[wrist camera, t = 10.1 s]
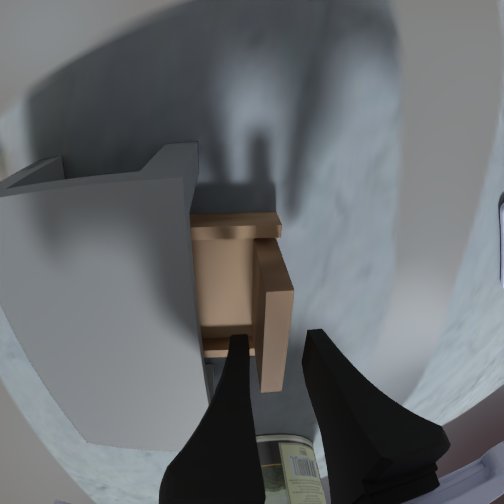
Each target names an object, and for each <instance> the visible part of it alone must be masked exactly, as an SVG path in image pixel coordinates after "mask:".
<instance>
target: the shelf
mask: <svg viewBox="0 0 504 504" xmlns="http://www.w3.org/2000/svg"><path fill="white" fill-rule="evenodd" d="M198 174H199V165H198V142H190V143H173V144H165V145H164V146H163V147H162V148H161V149H160V150H159V151H158V152H157V153H156V155H155V156H154V157H153V158H152V159H151V160H150V161H149V162H148V163H147V164H146V165H145V166H144V167H143V168H142V169H141V170H140V171H138V172H126V173H116V174H106V175H97V176H88V177H80V178H72V179H65V176H64V169H63V162H62V156H61V157H55V158H49V159H44V160H39V161H37V162H35V163H33V164H31V165H29V166H27V167H26V168H24V169H22V170H20V171H18V172H16V173H15V174H13V175H11V176H9V177H8V178H6V179H4V180H3V181H1V182H0V305H1V307H2V310H3V312H4V314H5V316H6V318H7V320H8V322H9V324H10V326H11V328H12V330H13V332H14V334H15V336H16V338H17V340H18V341H19V343H20V345H21V347H22V349H23V351H24V352H25V354H26V356H27V358H28V359H29V361H30V363H31V364H32V366H33V368H34V369H35V371H36V373H37V374H38V376H39V377H40V379H41V381H42V382H43V384H44V385H45V387H46V388H47V390H48V391H49V393H50V394H51V396H52V397H53V399H54V400H55V401H56V403H57V404H58V406H59V407H60V409H61V410H62V411H63V413H64V414H65V415H66V417H67V418H68V419H69V421H70V422H71V423H72V425H73V426H74V427H75V428H76V430H77V431H78V432H79V434H80V435H81V436H82V437H83V438H84V440H85V441H86V442H87V443H91V444H97V445H104V446H112V447H120V448H130V449H141V450H155V451H177V452H180V451H181V450H182V448H183V447H184V446H185V444H186V443H187V441H188V440H189V438H190V437H191V436H192V434H193V433H194V431H195V429H196V428H197V426H198V425H199V423H200V421H201V419H202V418H203V416H204V414H205V412H206V410H207V408H208V406H209V404H210V402H211V400H212V398H213V396H214V393H215V376H214V367H213V364H205V360H204V353H203V345H202V337H201V329H200V321H199V312H198V304H197V294H196V285H195V275H194V264H193V253H192V241H191V229H190V215H189V213H190V208H191V204H192V199H193V195H194V191H195V187H196V182H197V178H198Z"/></svg>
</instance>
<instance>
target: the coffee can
mask: <svg viewBox="0 0 504 504" xmlns="http://www.w3.org/2000/svg"><path fill="white" fill-rule="evenodd" d="M256 441H257V447H258V453H259V459H260V464H261V470H262V475H263V480H264V487H265V494H266V500H265V504H326V500H325V495H324V492H323V487H322V484H321V479H320V474H319V470H318V467H317V463H316V459H315V454H314V450H313V444H312V442H311V441H310V440H308V439H306V438H304V437H300V436H296V435H283V434H276V435H263V436H256Z"/></svg>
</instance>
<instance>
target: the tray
mask: <svg viewBox="0 0 504 504" xmlns="http://www.w3.org/2000/svg"><path fill="white" fill-rule="evenodd" d="M190 229H191V241H192V253H193V264H194V275H195V285H196V294H197V304H198V312H199V321H200V329H201V337H202V345H203V353H204V358H214V357H227V354H228V349H229V337H230V336H231V335H238V334H247V335H248V340H249V347H250V356H256V363H257V370H258V377H259V384H260V391H261V393H265V392H277V391H282V385H283V378H284V371H285V363H286V356H287V348H288V340H289V332H290V324H291V315H292V307H293V298H294V288H293V285H292V282H291V280H290V277H289V274H288V271H287V268H286V265H285V263H284V260H283V257H282V254H281V251H280V249H279V246H278V243H277V238H278V237H281V231H282V224H281V222H280V220H279V217H278V215H277V213H276V212H253V213H217V214H190Z"/></svg>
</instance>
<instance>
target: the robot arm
mask: <svg viewBox="0 0 504 504" xmlns="http://www.w3.org/2000/svg"><path fill="white" fill-rule="evenodd" d="M500 222H501V286H502V287H503V288H504V203H503V204H502V205H501V207H500ZM302 367H303V373H304V378H305V383H306V387H307V390H308V393H309V396H310V400H311V403H312V406H313V409H314V412H315V415H316V418H317V421H318V425H319V428H320V432H321V436H322V442H323V447H324V452H325V458H326V465H327V471H328V479H329V486H330V494H331V495H330V496H331V504H489V503H491V502H492V501H494V500H495V499H497V498H498V497H500V496H501V495H502V494H504V441H503V442H501V443H499V444H498V445H496V446H495V447H493V448H491V449H490V450H489V451H487V452H486V453H485V454H484V455H483V456H482V457H481V458H480V459H478V460H476V461H474V462H472V463H470V464H468V465H466V466H464V467H463V468H460V469H458V470H456V471H454V472H452V473H450V474H448V475H446V476H444V477H442V478H439V479H438V478H437V475H436V473H435V471H436V470H437V469H438V468H437V465H436V463H435V462H436V461H437V460H438V459H439V458H441V457H442V456H443V455H444V454H445V453H446V451H448V449H449V447H450V445H451V444H450V442H449V440H448V438H447V435H446V433H445V431H444V430H443V428H442V426H440V425H437V424H435V423H433V422H431V421H428V420H426V419H424V418H422V417H420V416H418V415H416V414H414V413H413V412H411V411H409V410H407V409H406V408H404V407H403V406H401V405H399V404H398V403H397V402H395V401H393V400H392V399H390V398H389V397H388V396H387V395H385V394H384V393H383V392H381V391H380V390H379V389H378V388H376V387H375V386H374V385H373V384H372V383H371V382H370V381H368V380H367V379H366V378H365V377H364V376H363V375H362V374H361V373H360V372H359V371H358V370H357V369H356V368H355V367H354V366H353V365H352V364H351V362H350V361H349V360H348V359H347V358H346V357H345V356H344V355H343V354H342V352H341V351H340V350H339V349H338V348H337V347H336V345H335V344H334V343H333V342H332V340H331V339H330V338H329V337H328V336H327V334H326V333H325V332H324V331H323V330H322V329H313V330H307V336H306V341H305V347H304V353H303V358H302ZM249 384H250V347H249V340H248V335H247V334H238V335H231V336H230V337H229V349H228V354H227V358H226V362H225V365H224V369H223V372H222V375H221V378H220V381H219V383H218V386H217V388H216V391H215V393H214V396H213V398H212V400H211V402H210V404H209V406H208V408H207V410H206V412H205V414H204V416H203V418H202V419H201V421H200V423H199V425H198V426H197V428H196V429H195V431H194V433H193V434H192V436H191V437H190V438H189V440H188V441H187V443H186V444H185V446H184V447H183V448H182V450H181V451H180V452H179V453H178V455H177V456H176V457H175V458H174V460H173V461H172V462H171V463H170V464H169V466H168V467H167V469H166V471H165V474H164V476H163V479H162V482H161V485H160V490H159V504H265V500H266V494H265V487H264V480H263V475H262V470H261V464H260V459H259V453H258V447H257V441H256V435H255V428H254V421H253V415H252V407H251V400H250V387H249ZM54 504H70V503H66V502H62V501H59V500H55V503H54Z"/></svg>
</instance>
